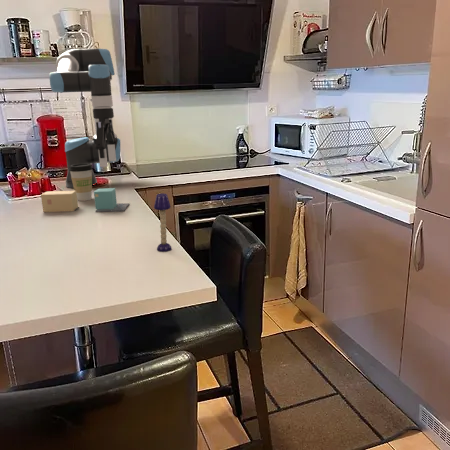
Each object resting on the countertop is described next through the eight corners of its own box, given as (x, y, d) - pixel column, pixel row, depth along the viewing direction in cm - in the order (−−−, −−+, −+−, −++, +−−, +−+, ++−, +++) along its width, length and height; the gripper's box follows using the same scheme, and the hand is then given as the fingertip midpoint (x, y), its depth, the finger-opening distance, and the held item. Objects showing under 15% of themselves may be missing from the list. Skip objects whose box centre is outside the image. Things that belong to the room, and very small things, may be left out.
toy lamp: (175, 247, 138) (171, 192, 133) (170, 252, 133) (166, 196, 129) (160, 246, 139) (156, 192, 134) (154, 252, 135) (150, 195, 130)
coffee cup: (89, 202, 199) (85, 167, 194) (68, 201, 201) (63, 167, 196) (99, 196, 208) (96, 163, 204) (79, 196, 210) (75, 163, 206)
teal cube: (99, 205, 189) (97, 188, 187) (116, 205, 189) (115, 188, 187) (95, 209, 184) (93, 191, 182) (113, 208, 183) (111, 191, 181)
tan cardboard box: (49, 208, 190) (46, 191, 188) (79, 207, 190) (77, 190, 188) (43, 212, 184) (40, 194, 182) (74, 211, 184) (72, 193, 182)
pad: (102, 205, 192) (102, 203, 192) (129, 204, 192) (129, 203, 192) (95, 212, 181) (95, 210, 181) (123, 211, 181) (123, 209, 181)
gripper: (101, 106, 187) (106, 158, 194) (82, 109, 164) (89, 169, 170) (120, 105, 187) (124, 158, 193) (104, 109, 163) (110, 168, 170)
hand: (108, 163), depth 182 cm, fingers open, 13 cm apart
